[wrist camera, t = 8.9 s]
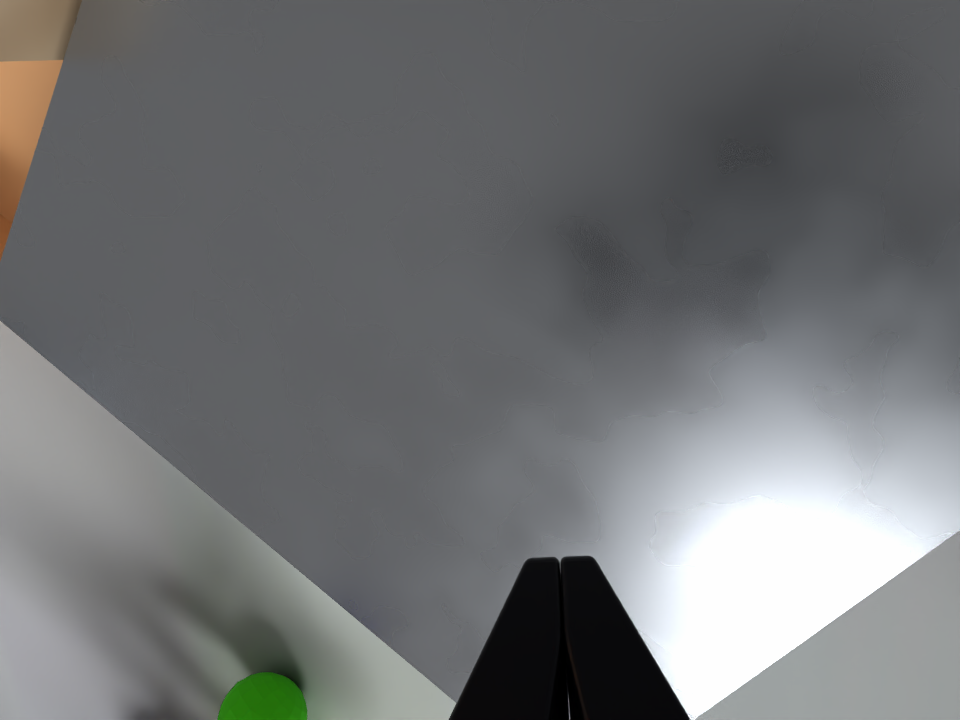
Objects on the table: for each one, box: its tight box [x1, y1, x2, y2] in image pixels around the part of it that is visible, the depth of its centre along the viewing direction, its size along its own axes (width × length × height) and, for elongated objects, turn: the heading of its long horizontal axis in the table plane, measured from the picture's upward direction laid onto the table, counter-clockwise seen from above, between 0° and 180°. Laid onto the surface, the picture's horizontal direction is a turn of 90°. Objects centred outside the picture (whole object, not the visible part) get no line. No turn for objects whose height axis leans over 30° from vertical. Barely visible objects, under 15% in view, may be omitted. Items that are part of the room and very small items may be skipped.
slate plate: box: [0, 0, 960, 720], centre depth 17 cm, size 20×20×4 cm
